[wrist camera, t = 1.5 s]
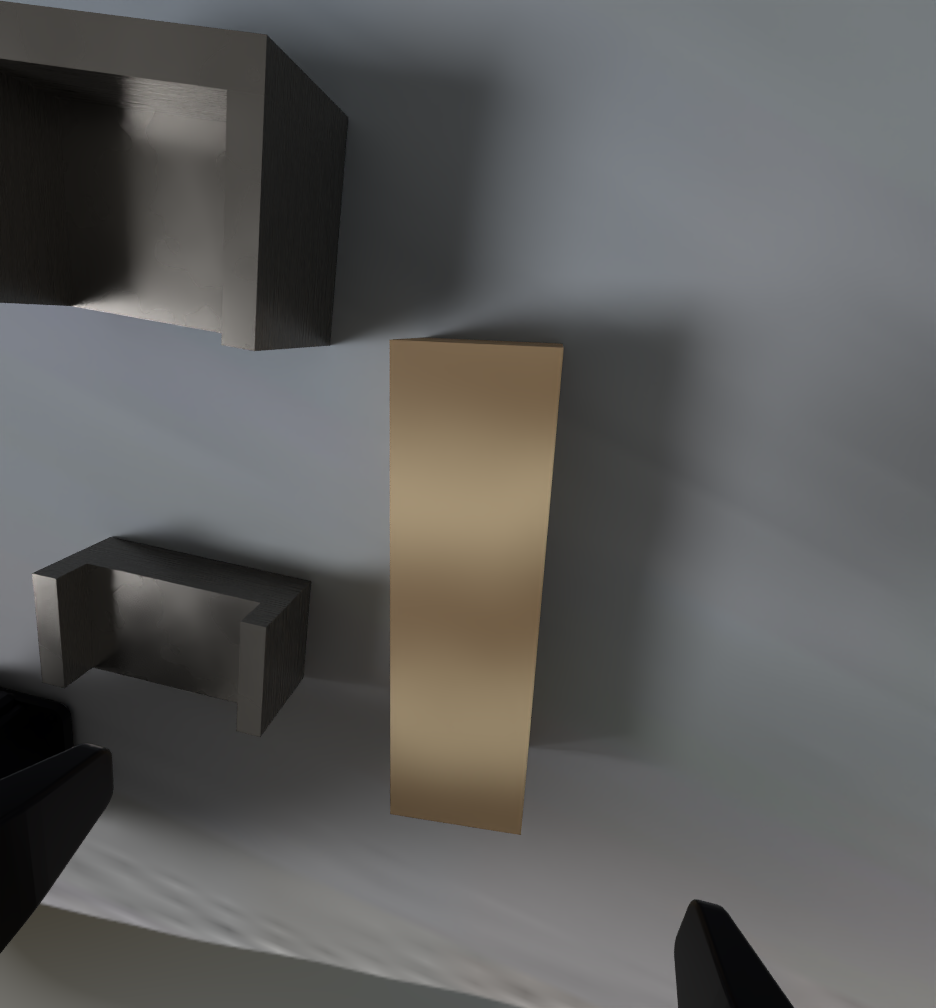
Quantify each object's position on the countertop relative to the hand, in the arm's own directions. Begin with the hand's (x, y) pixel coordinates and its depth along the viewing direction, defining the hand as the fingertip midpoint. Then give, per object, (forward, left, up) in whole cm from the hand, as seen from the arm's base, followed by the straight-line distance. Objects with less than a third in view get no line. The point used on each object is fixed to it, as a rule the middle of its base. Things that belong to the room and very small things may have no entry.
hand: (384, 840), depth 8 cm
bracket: (+9, +9, -11) cm, 17 cm away
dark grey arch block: (-4, +9, -11) cm, 15 cm away
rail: (0, 0, -11) cm, 11 cm away
